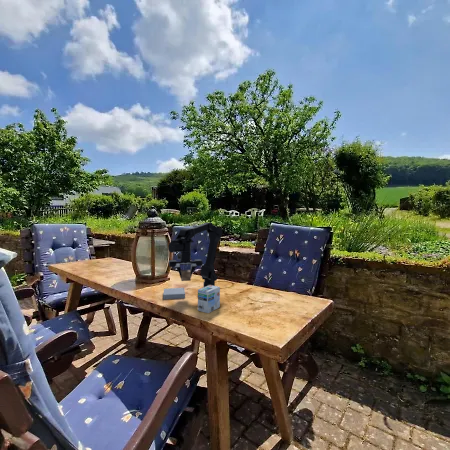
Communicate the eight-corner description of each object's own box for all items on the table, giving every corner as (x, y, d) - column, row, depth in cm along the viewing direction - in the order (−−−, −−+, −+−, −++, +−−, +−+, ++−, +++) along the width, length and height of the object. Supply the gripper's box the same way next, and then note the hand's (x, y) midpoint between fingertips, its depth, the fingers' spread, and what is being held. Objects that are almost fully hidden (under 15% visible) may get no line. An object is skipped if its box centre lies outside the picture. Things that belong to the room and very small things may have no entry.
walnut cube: (189, 278, 152) (189, 270, 152) (190, 280, 147) (190, 271, 147) (180, 278, 151) (181, 270, 150) (181, 281, 146) (181, 272, 146)
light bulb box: (208, 313, 125) (208, 291, 125) (197, 310, 129) (197, 289, 128) (220, 307, 134) (220, 286, 134) (209, 304, 138) (209, 284, 137)
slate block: (184, 292, 160) (184, 287, 159) (185, 298, 148) (185, 293, 148) (163, 293, 157) (163, 288, 157) (163, 300, 145) (163, 294, 145)
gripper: (200, 248, 158) (199, 274, 159) (168, 249, 154) (168, 275, 154) (202, 251, 147) (202, 278, 148) (169, 251, 143) (169, 280, 144)
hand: (185, 277), depth 149 cm, fingers closed on walnut cube, 5 cm apart
